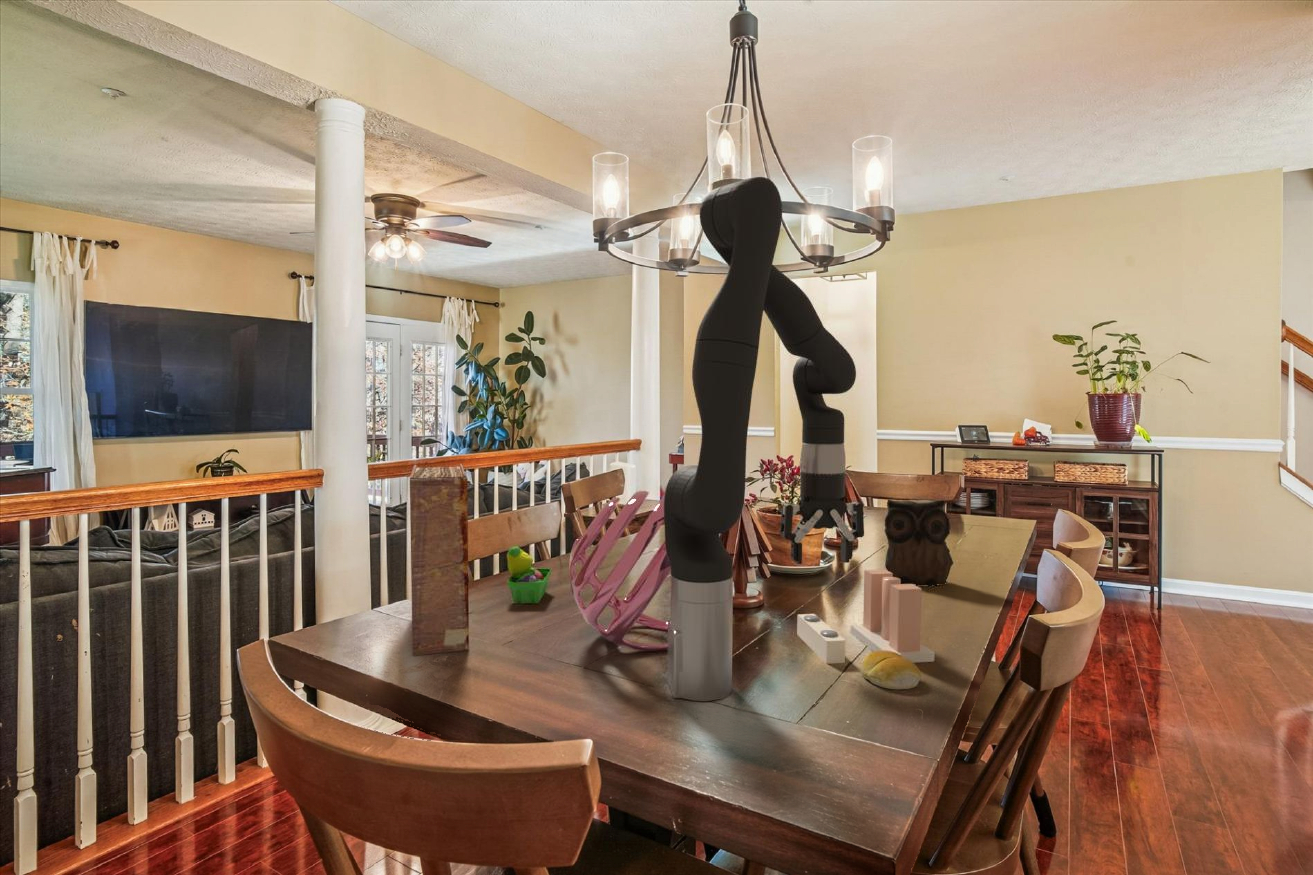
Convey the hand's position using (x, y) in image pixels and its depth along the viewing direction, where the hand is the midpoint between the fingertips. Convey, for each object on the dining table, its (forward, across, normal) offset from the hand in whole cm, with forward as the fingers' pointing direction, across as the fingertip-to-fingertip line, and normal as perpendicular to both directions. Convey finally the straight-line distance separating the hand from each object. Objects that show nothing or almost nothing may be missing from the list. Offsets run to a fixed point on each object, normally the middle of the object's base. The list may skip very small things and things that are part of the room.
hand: (821, 562), depth 118 cm
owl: (+16, +40, +40) cm, 59 cm away
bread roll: (+15, +6, -14) cm, 22 cm away
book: (+15, -67, +18) cm, 71 cm away
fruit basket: (+15, -52, +37) cm, 66 cm away
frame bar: (+15, 0, 0) cm, 15 cm away
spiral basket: (+15, -31, +9) cm, 36 cm away
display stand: (+15, +12, -1) cm, 20 cm away
